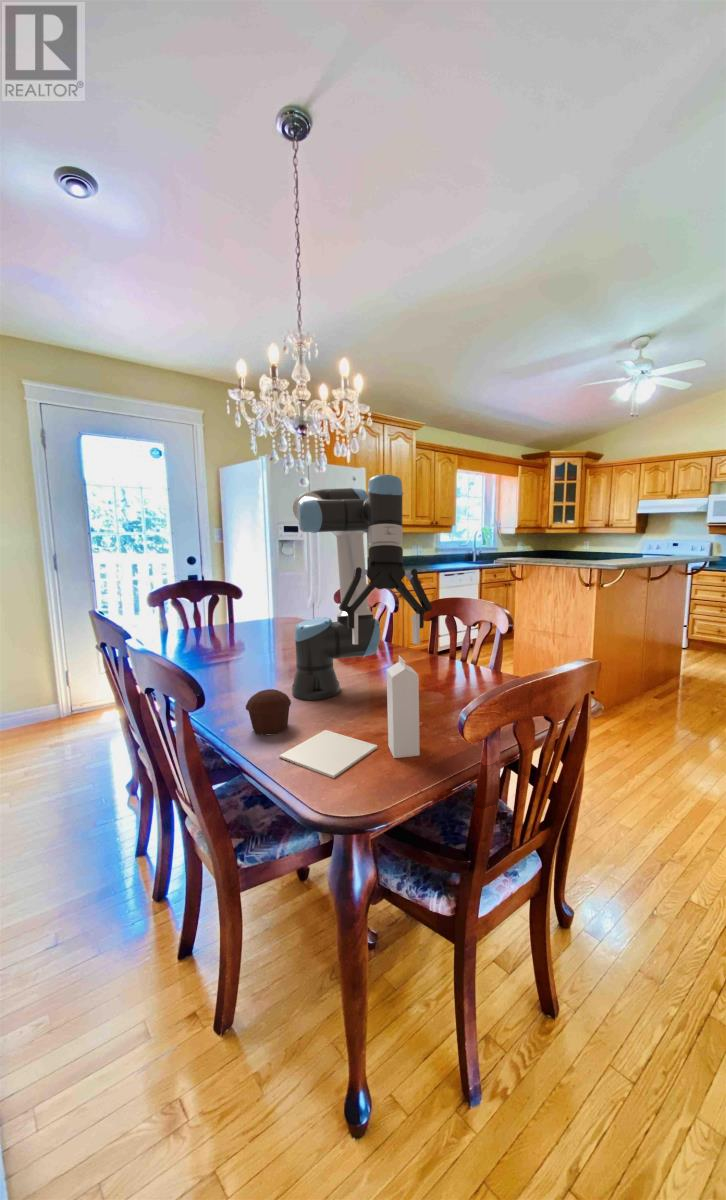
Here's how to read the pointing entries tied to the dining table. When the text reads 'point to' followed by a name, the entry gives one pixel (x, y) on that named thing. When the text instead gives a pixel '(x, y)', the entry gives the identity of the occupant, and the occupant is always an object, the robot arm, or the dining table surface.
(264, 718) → the muffin
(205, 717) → the dining table surface
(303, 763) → the mat
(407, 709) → the milk
